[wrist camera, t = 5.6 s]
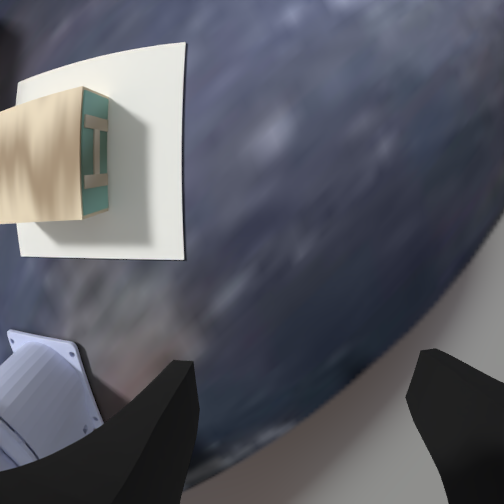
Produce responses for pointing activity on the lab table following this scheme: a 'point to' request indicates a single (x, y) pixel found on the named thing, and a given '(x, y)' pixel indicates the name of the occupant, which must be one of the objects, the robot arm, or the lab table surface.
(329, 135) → the lab table surface
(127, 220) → the mat
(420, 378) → the robot arm
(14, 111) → the beech block
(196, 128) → the lab table surface
